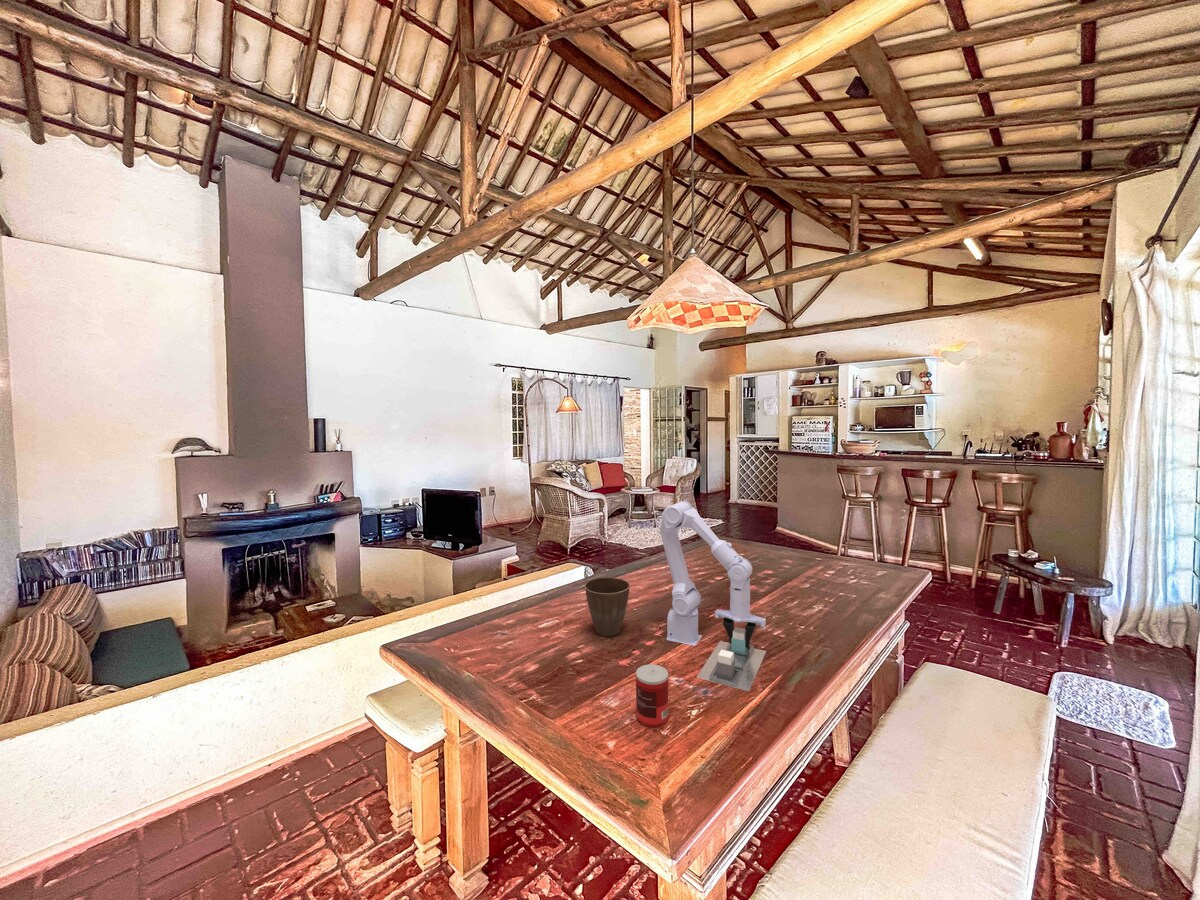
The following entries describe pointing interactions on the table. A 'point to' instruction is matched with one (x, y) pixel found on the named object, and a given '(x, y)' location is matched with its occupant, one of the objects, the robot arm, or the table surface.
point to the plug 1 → (726, 665)
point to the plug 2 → (739, 641)
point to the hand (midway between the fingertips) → (739, 644)
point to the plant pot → (607, 603)
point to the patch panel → (743, 667)
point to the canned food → (652, 695)
